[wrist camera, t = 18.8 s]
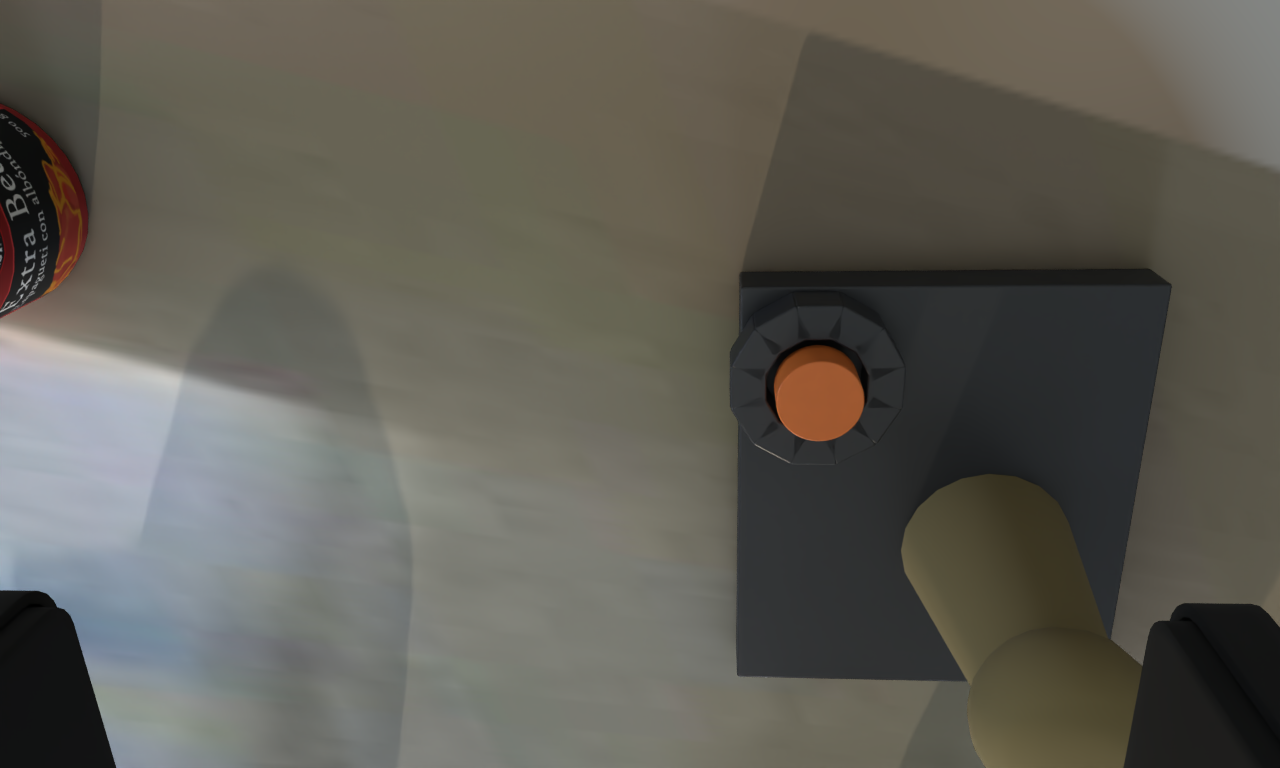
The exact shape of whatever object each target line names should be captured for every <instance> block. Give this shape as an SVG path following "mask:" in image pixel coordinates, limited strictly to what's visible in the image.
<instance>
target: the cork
mask: <svg viewBox="0 0 1280 768" xmlns="http://www.w3.org/2000/svg"><path fill="white" fill-rule="evenodd" d="M901 554H902V559H903V565H904V571H905V573H906V575H907V577H908V579H909V580H910V582H911V584H912V586H913V587H914V589H915V591H916V593H917V594H918V596H919V598H920V600H921V601H922V603H923V605H924V606H925V608H926V610H927V612H928V613H929V615H930V617H931V619H932V620H933V622H934V624H935V626H936V627H937V629H938V631H939V632H940V634H941V636H942V638H943V639H944V641H945V643H946V645H947V646H948V648H949V650H950V652H951V653H952V655H953V657H954V659H955V660H956V662H957V664H958V665H959V667H960V669H961V671H962V672H963V674H964V676H965V678H966V679H967V681H968V683H969V685H970V686H971V688H970V692H969V696H968V704H967V716H968V723H969V729H970V735H971V739H972V742H973V745H974V749H975V751H976V753H977V754H978V756H979V758H980V759H981V761H982V762H983V764H984V766H985V767H986V768H1123V767H1124V762H1125V757H1126V751H1127V746H1128V741H1129V736H1130V730H1131V725H1132V720H1133V714H1134V709H1135V704H1136V698H1137V693H1138V688H1139V683H1140V677H1141V672H1142V665H1140V664H1139V663H1138V662H1137V661H1136V660H1134V659H1133V658H1132V657H1131V656H1130V655H1129V654H1127V653H1126V652H1125V651H1124V650H1123V649H1121V648H1120V647H1119V646H1118V645H1117V644H1115V643H1114V642H1113V641H1112V640H1110V639H1108V637H1107V634H1106V631H1105V628H1104V625H1103V622H1102V619H1101V616H1100V613H1099V610H1098V607H1097V604H1096V601H1095V598H1094V596H1093V593H1092V590H1091V587H1090V584H1089V581H1088V578H1087V575H1086V572H1085V569H1084V566H1083V563H1082V560H1081V557H1080V554H1079V552H1078V549H1077V546H1076V543H1075V540H1074V537H1073V534H1072V531H1071V528H1070V525H1069V522H1068V520H1067V518H1066V517H1065V515H1064V513H1063V511H1062V509H1061V507H1060V505H1059V503H1058V502H1057V501H1056V500H1055V499H1054V498H1053V497H1051V496H1050V495H1049V494H1048V493H1047V492H1046V491H1045V490H1043V489H1042V488H1041V487H1040V486H1038V485H1035V484H1033V483H1031V482H1028V481H1026V480H1023V479H1021V478H1018V477H1016V476H1006V475H996V474H985V475H979V476H974V477H968V478H962V479H960V480H958V481H956V482H954V483H951V484H949V485H947V486H945V487H943V488H941V489H939V490H937V491H936V492H935V493H934V494H932V495H931V496H930V497H929V498H928V499H927V500H926V501H925V502H923V503H922V504H921V505H920V506H919V507H918V508H917V510H916V511H915V513H914V515H913V516H912V518H911V520H910V521H909V523H908V525H907V526H906V528H905V533H904V538H903V543H902V548H901Z"/></svg>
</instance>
